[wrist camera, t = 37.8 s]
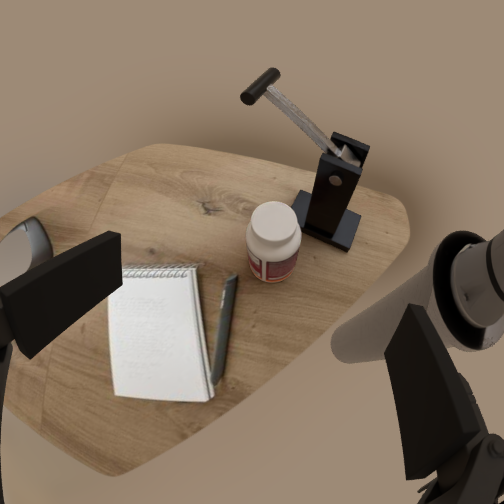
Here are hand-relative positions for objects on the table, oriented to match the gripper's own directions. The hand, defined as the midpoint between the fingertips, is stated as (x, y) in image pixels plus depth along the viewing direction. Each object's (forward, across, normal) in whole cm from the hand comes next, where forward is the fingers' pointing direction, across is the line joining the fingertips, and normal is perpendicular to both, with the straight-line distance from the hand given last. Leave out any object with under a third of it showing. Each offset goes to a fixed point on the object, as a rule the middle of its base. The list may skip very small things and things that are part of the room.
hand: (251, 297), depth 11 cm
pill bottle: (+25, -1, -9) cm, 26 cm away
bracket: (+30, +5, -3) cm, 31 cm away
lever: (+20, -1, +8) cm, 22 cm away
